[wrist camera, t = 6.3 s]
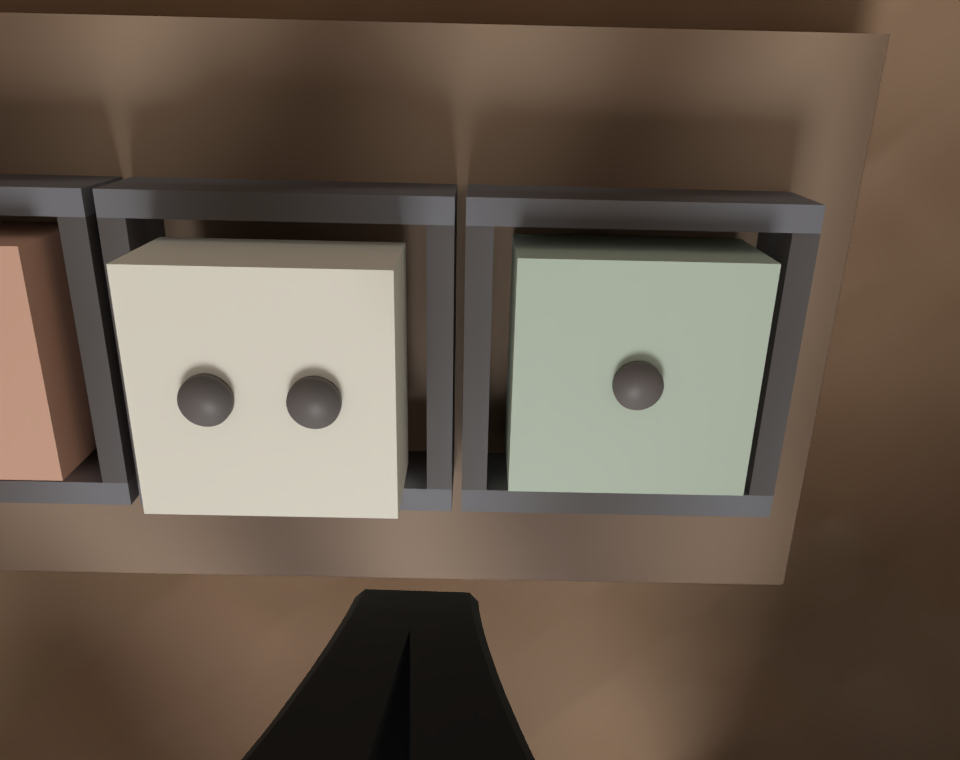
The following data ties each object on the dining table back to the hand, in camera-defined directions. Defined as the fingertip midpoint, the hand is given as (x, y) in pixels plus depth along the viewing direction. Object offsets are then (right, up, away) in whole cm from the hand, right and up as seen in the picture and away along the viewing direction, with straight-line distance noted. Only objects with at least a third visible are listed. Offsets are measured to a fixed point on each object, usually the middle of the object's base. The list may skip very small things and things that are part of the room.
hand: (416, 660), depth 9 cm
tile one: (+4, +4, +7) cm, 9 cm away
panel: (-3, +5, +9) cm, 10 cm away
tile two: (-3, +4, +6) cm, 8 cm away
